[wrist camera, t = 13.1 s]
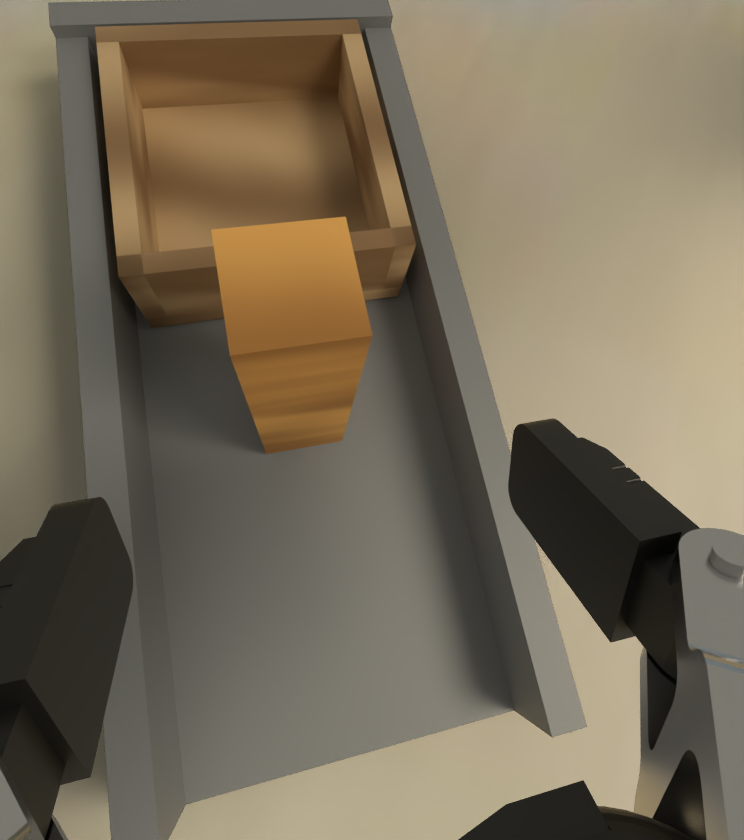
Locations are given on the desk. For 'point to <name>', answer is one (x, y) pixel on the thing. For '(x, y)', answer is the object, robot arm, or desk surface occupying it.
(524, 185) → the desk surface
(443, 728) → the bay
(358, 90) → the crate
